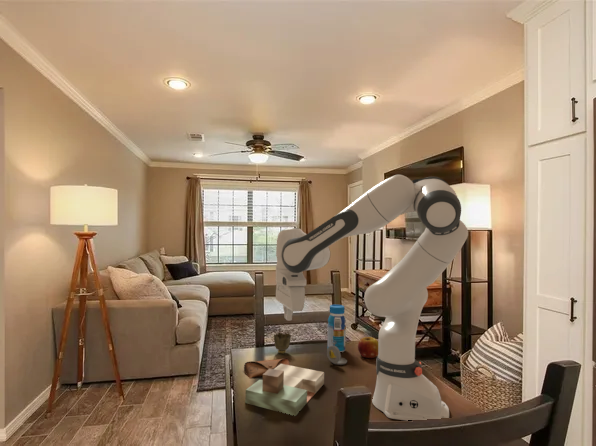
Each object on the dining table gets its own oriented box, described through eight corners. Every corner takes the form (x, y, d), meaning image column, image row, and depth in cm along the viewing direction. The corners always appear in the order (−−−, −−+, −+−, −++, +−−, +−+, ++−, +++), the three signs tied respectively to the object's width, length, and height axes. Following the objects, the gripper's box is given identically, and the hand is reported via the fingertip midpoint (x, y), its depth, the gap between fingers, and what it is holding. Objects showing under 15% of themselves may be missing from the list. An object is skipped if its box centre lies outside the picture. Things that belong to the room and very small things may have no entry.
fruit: (353, 356, 149) (353, 337, 149) (364, 351, 156) (364, 333, 156) (373, 362, 143) (373, 342, 143) (383, 356, 150) (384, 338, 150)
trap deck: (323, 383, 121) (324, 372, 121) (295, 416, 99) (295, 402, 99) (280, 374, 128) (281, 363, 128) (245, 402, 106) (245, 389, 106)
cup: (292, 351, 154) (292, 333, 154) (288, 356, 147) (288, 337, 147) (276, 349, 155) (276, 331, 156) (271, 355, 148) (271, 336, 148)
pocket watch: (347, 360, 144) (347, 336, 144) (346, 368, 136) (346, 342, 136) (327, 358, 146) (328, 334, 146) (325, 366, 137) (326, 340, 138)
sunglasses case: (248, 379, 123) (246, 359, 127) (244, 382, 129) (243, 363, 132) (295, 373, 130) (293, 354, 133) (290, 376, 135) (287, 358, 139)
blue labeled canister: (323, 350, 156) (324, 305, 156) (333, 345, 162) (334, 303, 163) (338, 354, 150) (339, 308, 151) (349, 350, 157) (350, 305, 157)
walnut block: (283, 386, 109) (283, 370, 109) (277, 393, 104) (277, 377, 104) (268, 384, 111) (269, 368, 111) (262, 390, 106) (262, 374, 106)
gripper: (271, 273, 123) (271, 313, 122) (288, 281, 103) (287, 328, 103) (288, 273, 125) (288, 312, 124) (308, 281, 105) (307, 326, 105)
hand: (288, 319), depth 113 cm, fingers closed
